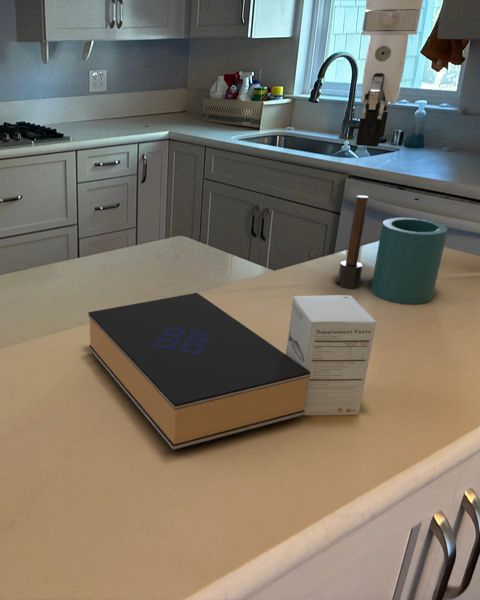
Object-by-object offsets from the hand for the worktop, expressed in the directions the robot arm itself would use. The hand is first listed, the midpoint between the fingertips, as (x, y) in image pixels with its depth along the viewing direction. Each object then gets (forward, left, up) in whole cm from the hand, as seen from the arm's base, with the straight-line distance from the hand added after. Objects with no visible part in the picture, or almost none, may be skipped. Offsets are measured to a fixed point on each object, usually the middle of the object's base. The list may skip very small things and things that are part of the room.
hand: (370, 140), depth 99 cm
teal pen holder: (-7, +5, -25) cm, 27 cm away
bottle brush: (0, 0, -25) cm, 25 cm away
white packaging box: (+22, +34, -25) cm, 48 cm away
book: (+37, +28, -25) cm, 53 cm away
